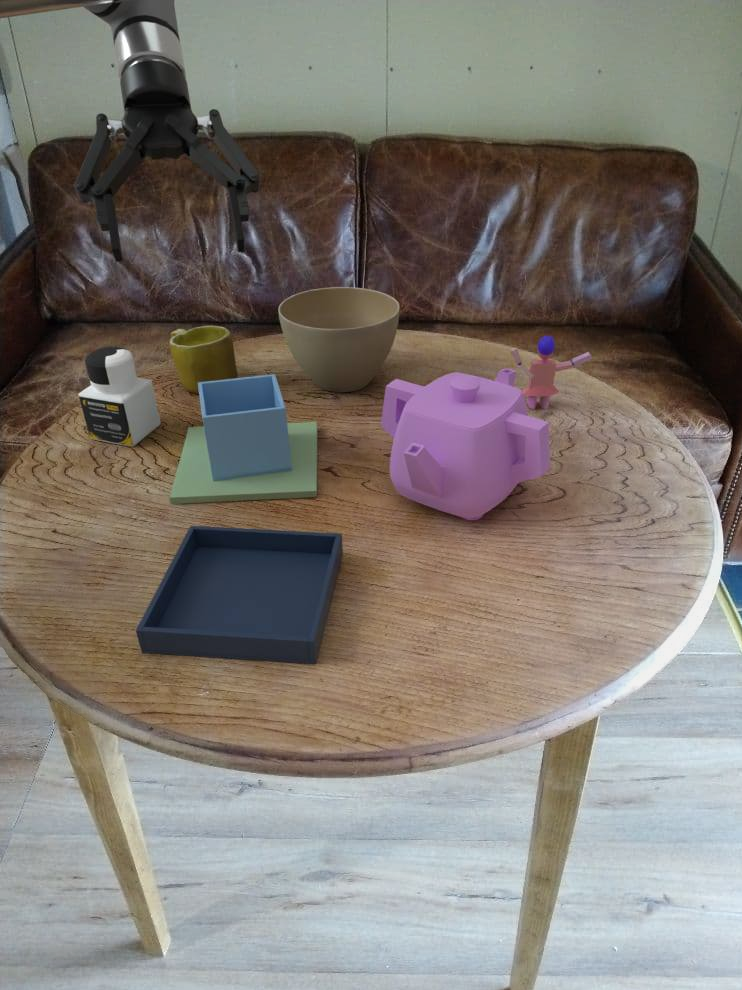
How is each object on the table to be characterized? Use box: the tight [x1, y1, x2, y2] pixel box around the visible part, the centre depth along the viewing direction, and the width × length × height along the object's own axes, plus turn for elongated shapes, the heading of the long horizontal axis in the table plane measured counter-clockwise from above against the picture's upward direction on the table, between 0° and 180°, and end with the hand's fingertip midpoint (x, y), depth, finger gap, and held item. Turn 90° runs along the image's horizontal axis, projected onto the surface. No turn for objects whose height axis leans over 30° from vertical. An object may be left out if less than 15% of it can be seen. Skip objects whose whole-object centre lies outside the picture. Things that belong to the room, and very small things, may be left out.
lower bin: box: [135, 525, 344, 665], centre depth 83 cm, size 17×17×3 cm
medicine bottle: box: [78, 346, 161, 448], centre depth 109 cm, size 7×7×12 cm
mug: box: [168, 325, 239, 395], centre depth 124 cm, size 12×10×10 cm
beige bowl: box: [277, 286, 401, 393], centre depth 122 cm, size 18×18×12 cm
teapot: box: [380, 367, 551, 521], centre depth 96 cm, size 19×18×15 cm
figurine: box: [509, 335, 592, 410], centre depth 116 cm, size 3×12×11 cm, turn 100°
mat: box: [169, 421, 318, 505], centre depth 106 cm, size 18×18×1 cm
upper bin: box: [198, 373, 292, 481], centre depth 103 cm, size 10×10×9 cm
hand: (180, 251), depth 90 cm, fingers open, 13 cm apart
